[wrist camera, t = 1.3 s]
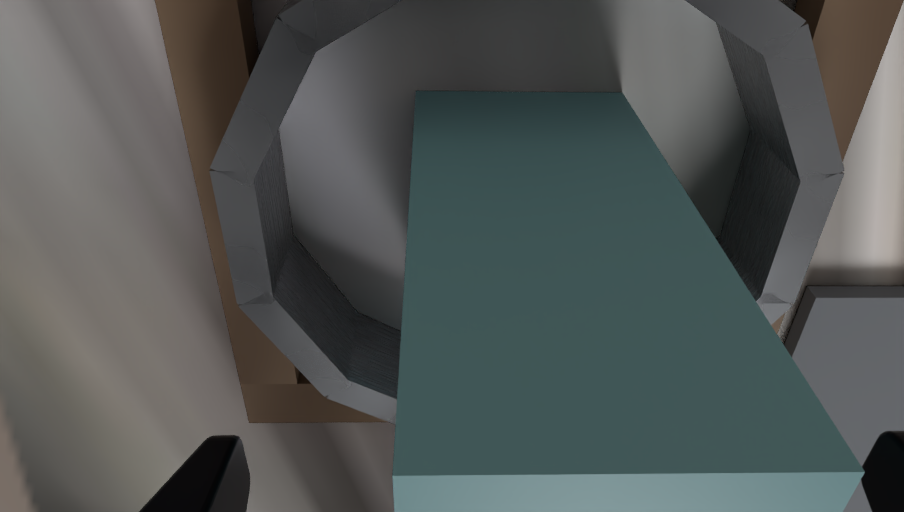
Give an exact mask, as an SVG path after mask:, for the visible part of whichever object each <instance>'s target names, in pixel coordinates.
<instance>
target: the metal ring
mask: <svg viewBox="0 0 904 512" xmlns="http://www.w3.org/2000/svg"><path fill="white" fill-rule="evenodd" d="M400 1H402V0H288V2H287V3H286V5H285V6H284V8H283V9H282V10H281V12H280V13H279V15H278V16H277V17H276V19H275V21H274V24H273V26H272V28H271V30H270V33H269V35H268V37H267V40H266V42H265V44H264V46H263V49H262V51H261V53H260V55H259V58H258V60H257V62H256V64H255V67H254V69H253V71H252V73H251V76H250V78H249V80H248V82H247V85H246V87H245V89H244V92H243V94H242V96H241V98H240V101H239V103H238V105H237V107H236V110H235V112H234V114H233V116H232V119H231V121H230V123H229V125H228V128H227V130H226V132H225V134H224V137H223V139H222V141H221V144H220V146H219V148H218V150H217V153H216V155H215V157H214V159H213V162H212V164H211V166H210V168H211V169H210V176H211V181H212V186H213V191H214V195H215V200H216V205H217V210H218V215H219V220H220V224H221V229H222V234H223V239H224V244H225V249H226V253H227V258H228V263H229V268H230V273H231V277H232V282H233V287H234V292H235V297H236V302H237V304H239V306H238V307H239V308H240V309H241V310H242V311H243V312H244V313H245V314H246V315H247V316H248V317H249V318H250V319H251V320H252V321H253V322H254V323H255V325H256V326H257V327H258V328H259V329H260V330H261V331H262V332H263V333H264V334H265V335H266V336H267V337H268V338H269V339H270V340H271V341H272V342H273V343H274V345H275V346H276V347H277V348H278V349H279V350H280V351H281V352H282V353H283V354H284V355H285V356H286V357H287V358H288V359H289V360H290V361H291V362H292V363H293V365H294V366H295V367H296V368H297V369H298V370H299V371H300V372H301V373H302V374H303V375H304V376H305V377H306V378H307V379H308V380H309V381H310V382H311V383H312V385H313V386H314V387H315V388H316V389H317V390H318V391H319V392H320V393H321V394H322V395H323V396H324V397H325V396H327V399H330V400H332V401H335V402H338V403H340V404H343V405H345V406H348V407H351V408H353V409H356V410H358V411H361V412H364V413H366V414H369V415H372V416H374V417H377V418H379V419H382V420H385V421H387V422H390V423H392V424H395V425H396V409H397V392H398V376H399V359H400V343H401V331H398V330H396V329H394V328H392V327H389V326H387V325H385V324H382V323H380V322H378V321H375V320H373V319H371V318H368V317H366V316H364V315H361V314H359V313H357V311H356V310H355V309H354V308H353V307H352V305H351V304H350V303H349V302H348V301H347V299H346V298H345V297H344V296H343V295H342V293H341V292H340V291H339V290H338V288H337V287H336V286H335V285H334V284H333V282H332V281H331V280H330V279H329V278H328V276H327V275H326V274H325V273H324V271H323V270H322V269H321V268H320V267H319V265H318V264H317V263H316V262H315V261H314V259H313V258H312V257H311V256H310V255H309V253H308V252H307V251H306V250H305V248H304V247H303V246H302V245H301V244H300V242H299V241H298V240H297V239H296V238H295V236H294V235H293V229H292V222H291V214H290V207H289V200H288V193H287V185H286V178H285V171H284V164H283V156H282V149H281V142H280V134H279V126H280V124H281V122H282V120H283V118H284V116H285V114H286V112H287V110H288V108H289V106H290V104H291V102H292V100H293V98H294V95H295V93H296V91H297V89H298V87H299V85H300V83H301V81H302V79H303V77H304V75H305V73H306V71H307V69H308V67H309V65H310V63H311V61H312V59H313V56H314V54H315V52H316V51H318V50H320V49H321V48H323V47H325V46H326V45H328V44H330V43H331V42H333V41H335V40H336V39H338V38H340V37H341V36H343V35H345V34H346V33H348V32H350V31H351V30H353V29H355V28H356V27H358V26H360V25H361V24H363V23H365V22H366V21H368V20H370V19H372V18H373V17H375V16H377V15H378V14H380V13H382V12H383V11H385V10H387V9H388V8H390V7H392V6H393V5H395V4H397V3H398V2H400ZM685 1H687V2H688V3H690V4H691V5H692V6H694V7H695V8H697V9H698V10H699V11H701V12H702V13H704V14H705V15H707V16H708V17H709V18H711V19H712V20H714V21H715V22H716V24H717V27H718V30H719V33H720V36H721V39H722V42H723V45H724V49H725V52H726V55H727V58H728V61H729V64H730V67H731V70H732V73H733V76H734V79H735V82H736V86H737V89H738V92H739V95H740V98H741V101H742V104H743V107H744V110H745V113H746V116H747V119H748V123H749V126H750V129H751V131H750V134H749V138H748V141H747V145H746V148H745V152H744V155H743V159H742V162H741V166H740V169H739V173H738V176H737V180H736V183H735V187H734V190H733V194H732V197H731V201H730V204H729V208H728V211H727V215H726V218H725V222H724V225H723V229H722V232H721V236H720V237H719V238H718V239H717V241H718V243H719V245H720V246H721V248H722V249H723V251H724V252H725V254H726V256H727V257H728V259H729V260H730V262H731V263H732V265H733V266H734V268H735V270H736V271H737V273H738V274H739V276H740V277H741V279H742V281H743V282H744V284H745V285H746V287H747V288H748V290H749V291H750V293H751V295H752V296H753V298H754V299H755V301H756V302H757V304H758V306H759V307H760V309H761V310H762V312H763V313H764V315H765V316H766V318H767V320H768V321H769V323H770V324H771V325H772V324H773V323H774V322H775V321H776V320H777V319H778V318H780V317H781V316H782V315H783V314H784V313H785V312H786V311H787V310H788V309H790V308H791V307H792V304H791V303H795V300H796V298H797V295H798V292H799V290H800V287H801V285H802V282H803V279H804V277H805V274H806V272H807V269H808V266H809V264H810V261H811V259H812V256H813V253H814V251H815V248H816V246H817V243H818V240H819V238H820V235H821V233H822V230H823V227H824V225H825V222H826V220H827V217H828V214H829V212H830V209H831V207H832V204H833V201H834V199H835V196H836V194H837V191H838V188H839V186H840V183H841V181H842V178H843V175H844V173H843V171H844V167H843V163H842V159H841V155H840V151H839V147H838V143H837V139H836V135H835V131H834V127H833V123H832V119H831V115H830V111H829V107H828V102H827V98H826V94H825V90H824V86H823V82H822V78H821V74H820V70H819V66H818V62H817V58H816V54H815V50H814V46H813V42H812V38H811V34H810V30H809V26H808V23H806V20H804V19H803V18H802V17H800V16H799V15H798V14H796V13H795V12H794V11H792V10H791V9H790V8H788V7H787V6H786V5H784V4H783V3H782V2H780V1H779V0H685Z"/></svg>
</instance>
